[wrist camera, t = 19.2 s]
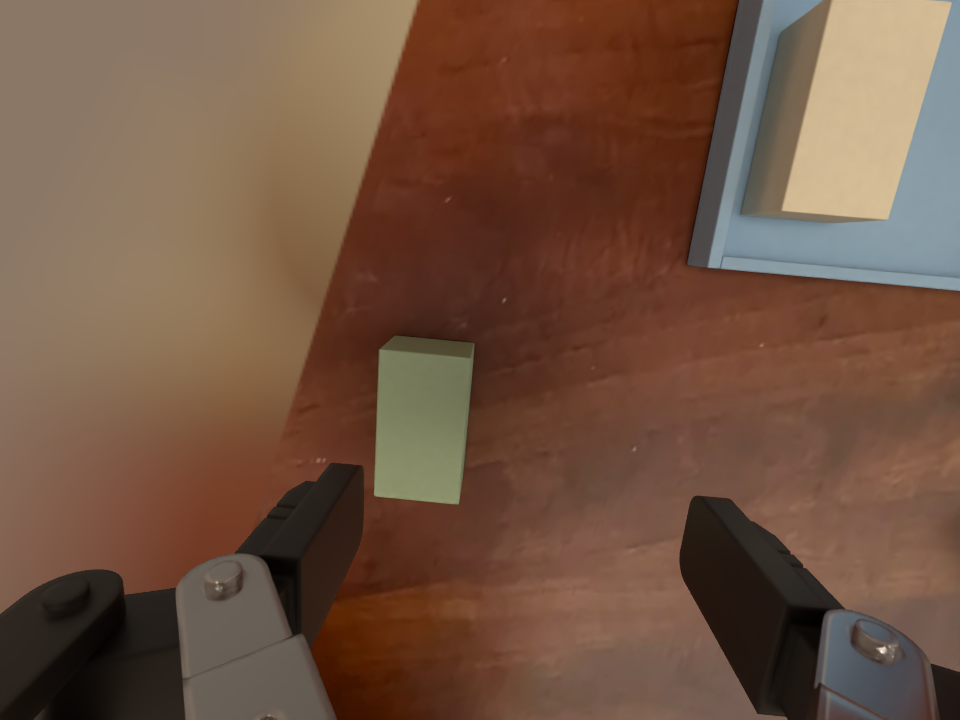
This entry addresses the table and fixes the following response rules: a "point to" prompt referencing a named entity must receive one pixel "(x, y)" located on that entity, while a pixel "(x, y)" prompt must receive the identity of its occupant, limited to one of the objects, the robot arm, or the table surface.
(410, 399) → the pad
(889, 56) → the pad
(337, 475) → the robot arm
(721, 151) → the blue tray
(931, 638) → the table surface
